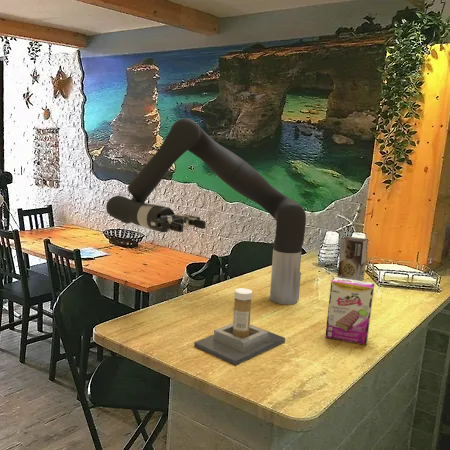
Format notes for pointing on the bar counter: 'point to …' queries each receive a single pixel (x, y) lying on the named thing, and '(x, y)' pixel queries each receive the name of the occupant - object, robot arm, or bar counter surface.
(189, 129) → the robot arm
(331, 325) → the candy bar box
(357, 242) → the cookie box
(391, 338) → the bar counter surface
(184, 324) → the bar counter surface
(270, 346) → the collar socket
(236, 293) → the sprinkles bottle
